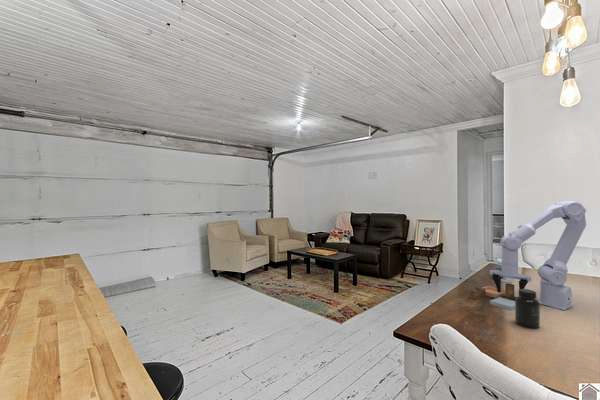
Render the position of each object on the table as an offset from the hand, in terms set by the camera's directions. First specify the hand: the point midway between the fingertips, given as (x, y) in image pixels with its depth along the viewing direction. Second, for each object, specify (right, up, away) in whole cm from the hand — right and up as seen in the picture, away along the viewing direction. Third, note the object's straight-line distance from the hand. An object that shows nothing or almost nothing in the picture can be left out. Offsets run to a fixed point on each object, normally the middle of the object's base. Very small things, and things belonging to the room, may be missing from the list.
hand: (509, 294), depth 124 cm
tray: (-2, -3, +8) cm, 9 cm away
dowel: (0, -3, 0) cm, 3 cm away
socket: (0, -3, 0) cm, 3 cm away
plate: (-6, -3, -6) cm, 9 cm away
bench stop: (-11, -3, +4) cm, 12 cm away
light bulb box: (+20, -3, +30) cm, 36 cm away
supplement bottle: (-11, -3, -23) cm, 26 cm away
